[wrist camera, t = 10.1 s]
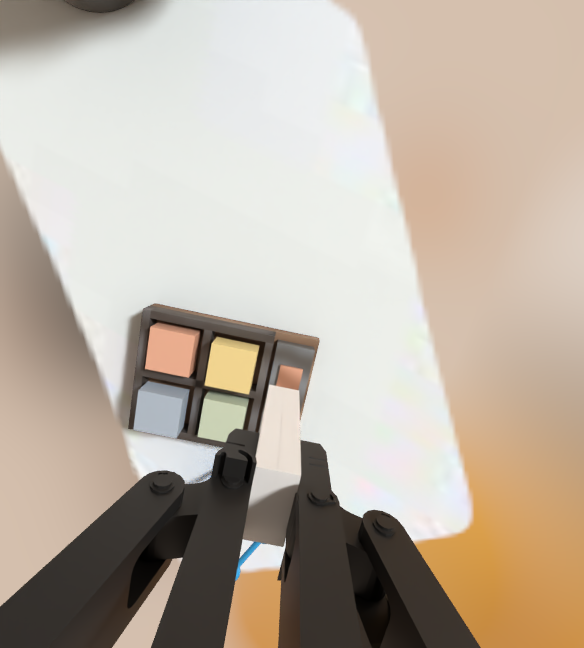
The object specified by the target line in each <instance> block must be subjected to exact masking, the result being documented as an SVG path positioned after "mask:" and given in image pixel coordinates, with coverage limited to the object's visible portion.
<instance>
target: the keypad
mask: <svg viewBox="0 0 584 648" xmlns="http://www.w3.org/2000/svg"><path fill="white" fill-rule="evenodd" d="M158 322H163V323H168V324H173V325H178V326H182V327H187V328H192V329H197V330H201V335H200V341H199V348H198V354H197V360H196V366H195V370H194V371H193V373H192V374H191V375H190V376H189V378H187V377H183V376H178V375H173V374H168V373H163V372H158V371H153V370H148V369H145V365H146V357H147V349H148V342H149V334H150V327H151V326H153V325H155V324H156V323H158ZM216 337H221V338H226V339H230V340H235V341H240V342H245V343H250V344H254V345H259V351H258V356H257V361H256V366H255V371H254V376H253V381H252V386H251V389H250V392H249V394H244V393H239V392H234V391H229V390H224V389H219V388H214V387H210V386H205V380H206V374H207V368H208V362H209V357H210V351H211V345H212V342H213V341H214V340H215V339H216ZM318 345H319V338H317V337H312V336H307V335H302V334H298V333H293V332H288V331H283V330H279V329H274V328H269V327H264V326H260V325H255V324H250V323H245V322H241V321H236V320H231V319H226V318H222V317H217V316H212V315H207V314H203V313H198V312H193V311H188V310H184V309H179V308H174V307H169V306H165V305H160V304H153V305H150V306H148V307H146V308H144V309H143V313H142V321H141V329H140V337H139V345H138V354H137V362H136V370H135V378H134V386H133V394H132V402H131V410H130V418H129V426H128V429H134V421H135V413H136V405H137V397H138V390H139V389H140V388H141V387H142V386H143V385H144V384H146V383H147V382H148V381H150V382H155V383H160V384H165V385H169V386H174V387H179V388H184V389H189V396H188V402H187V408H186V415H185V421H184V427H183V429H182V430H181V432H180V434H179V435H178V437H177V438H179V439H184V440H189V441H194V442H199V443H204V444H209V445H214V446H219V447H224V446H225V443H226V442H221V441H216V440H211V439H206V438H201V437H198V431H199V425H200V420H201V414H202V408H203V402H204V398H205V396H206V394H207V393H208V391H209V390H214V391H218V392H223V393H228V394H233V395H238V396H243V397H248V398H249V403H248V407H247V412H246V417H245V422H244V427H243V430H247V431H252V432H257V433H259V430H260V425H261V421H262V416H263V411H264V407H265V402H266V397H267V393H268V388H269V385H274V386H279V387H284V388H289V389H294V390H299V401H300V420H301V415H302V411H303V407H304V403H305V399H306V395H307V391H308V386H309V382H310V378H311V374H312V370H313V366H314V361H315V357H316V353H317V349H318Z"/></svg>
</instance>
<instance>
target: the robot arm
mask: <svg viewBox="0 0 584 648" xmlns="http://www.w3.org/2000/svg"><path fill="white" fill-rule="evenodd" d="M64 1H66V2H67V3H69V4H71V5H73V6H75V7H77V8H80V9H83V10H86V11H91V12H109V11H114V10H117V9H120V8H122V7H124V6H126V5H128V4H130V3H131V2H133V1H134V0H64ZM285 538H286V548H285V552H284V556H283V560H282V563H281V567H280V571H279V576H278V580H281V599H280V620H279V642H278V648H480V646H479V644H478V643H477V641H476V640H475V638H474V637H473V635H472V634H471V632H470V630H469V629H468V627H467V626H466V624H465V623H464V621H463V620H462V618H461V616H460V615H459V613H458V612H457V610H456V609H455V607H454V605H453V604H452V602H451V601H450V599H449V598H448V596H447V594H446V593H445V591H444V590H443V588H442V587H441V585H440V584H439V582H438V580H437V579H436V577H435V576H434V574H433V573H432V571H431V570H430V568H429V566H428V565H427V564H426V562H425V560H424V559H423V558H422V555H421V554H420V552H419V551H418V549H417V548H416V546H415V544H414V543H413V541H412V540H411V538H410V537H409V535H408V534H407V532H406V530H405V529H404V527H403V526H402V525H401V524H400V522H399V521H398V520H397V519H395V518H394V517H393V516H391V515H390V514H388V513H385V512H383V511H378V510H371V511H367V512H366V513H365V514H364V515H363V518H361V517H358V516H356V515H354V514H352V513H350V512H348V511H346V510H344V509H343V508H342V507H340V505H339V501H338V498H337V496H336V495H335V494H334V493H333V492H332V490H331V483H330V476H329V469H328V462H327V455H326V451H325V450H324V449H323V447H322V446H321V445H320V444H317V443H312V442H307V441H302V440H300V401H299V390H294V389H289V388H284V387H279V386H274V385H269V388H268V393H267V397H266V402H265V407H264V411H263V416H262V421H261V425H260V430H259V433H257V432H252V431H247V430H242V429H237V428H236V429H234V430H233V431H232V432H230V433H229V435H228V437H227V440H226V443H225V446H224V448H223V449H221V450H219V451H218V452H217V453H216V455H215V460H214V465H213V470H212V476H211V478H210V479H208V480H207V481H205V482H201V483H197V484H185V482H184V480H183V478H182V477H181V476H180V475H178V474H176V473H175V472H170V471H156V472H152V473H149V474H147V475H146V476H144V477H143V478H142V479H141V480H139V481H138V482H137V483H136V484H135V485H134V486H133V487H132V488H131V489H130V490H129V491H127V492H126V493H125V494H124V495H123V496H122V497H121V498H120V499H119V500H117V501H116V502H115V503H114V504H113V505H112V506H111V507H110V508H109V509H108V510H106V511H105V512H104V513H103V514H102V515H101V516H100V517H99V518H98V519H97V520H95V521H94V522H93V523H92V524H91V525H90V526H89V527H88V528H87V529H85V530H84V531H83V532H82V533H81V534H80V535H79V536H78V537H77V538H76V539H74V540H73V542H71V543H70V544H69V545H68V546H67V547H66V548H65V549H64V550H62V551H61V552H60V553H59V554H58V555H57V556H56V557H55V558H53V559H52V560H51V561H50V562H49V563H48V564H47V565H46V566H45V567H43V569H41V570H40V571H39V572H38V573H37V574H36V575H35V576H34V577H33V578H31V579H30V580H29V581H28V582H27V583H26V584H25V585H24V586H23V587H21V588H20V589H19V590H18V591H17V592H16V593H15V594H14V595H13V596H12V597H10V598H9V599H8V600H7V601H6V602H5V603H4V604H3V605H2V606H0V648H112V647H113V645H114V644H115V642H116V641H117V639H118V638H119V637H120V635H121V634H122V632H123V631H124V629H125V628H126V627H127V625H128V624H129V622H130V621H131V620H132V618H133V617H134V615H135V614H136V612H137V611H138V610H139V608H140V607H141V605H142V604H143V602H144V601H145V600H146V598H147V597H148V595H149V594H150V592H151V591H152V590H153V588H154V587H155V585H156V583H157V582H158V581H159V579H160V578H161V577H162V575H163V574H164V572H165V571H166V569H167V568H168V567H169V565H170V563H171V561H172V559H174V558H183V559H182V561H181V564H180V567H179V570H178V573H177V576H176V578H175V581H174V584H173V587H172V590H171V593H170V595H169V599H168V601H167V604H166V607H165V610H164V612H163V615H162V618H161V621H160V624H159V627H158V629H157V632H156V635H155V638H154V641H153V644H152V646H151V648H223V647H224V641H225V636H226V630H227V625H228V619H229V613H230V608H231V602H232V596H233V591H234V585H235V579H236V573H237V568H238V562H239V556H240V551H241V545H242V539H244V540H249V541H255V542H260V543H265V544H271V545H276V546H281V547H283V546H284V542H285Z"/></svg>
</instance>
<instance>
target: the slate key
mask: <svg viewBox="0 0 584 648" xmlns="http://www.w3.org/2000/svg"><path fill="white" fill-rule="evenodd" d="M188 396H189V389H184V388H179V387H174V386H169V385H165V384H160V383H155V382H150V381H148V382H147V383H146V384H144V385H143V386H142V387H141V388H140V389H139V390H138V397H137V405H136V413H135V421H134V429H133V430H136V431H141V432H146V433H151V434H156V435H161V436H166V437H172V438H177V437H178V435H179V434H180V432H181V430H182V429H183V427H184V421H185V415H186V408H187V402H188Z"/></svg>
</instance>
